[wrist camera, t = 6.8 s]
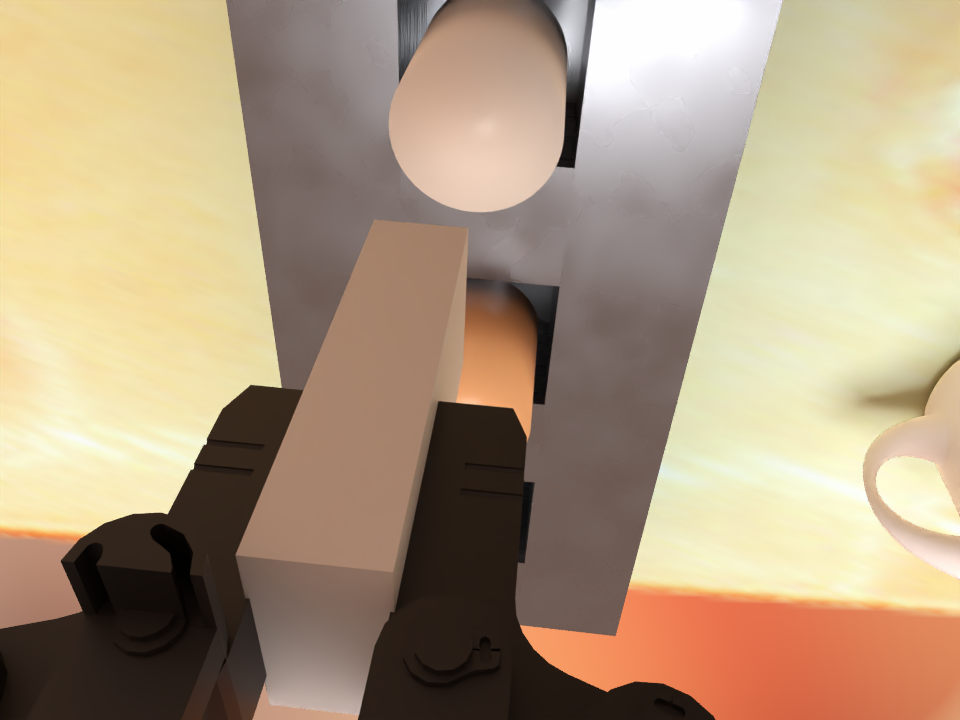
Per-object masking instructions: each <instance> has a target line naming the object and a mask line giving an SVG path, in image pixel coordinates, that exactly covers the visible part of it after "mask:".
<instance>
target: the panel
mask: <svg viewBox="0 0 960 720" xmlns="http://www.w3.org/2000/svg"><path fill="white" fill-rule="evenodd" d="M446 1H447V0H226V2H227V9H228V16H229V23H230V30H231V37H232V44H233V51H234V58H235V65H236V72H237V79H238V86H239V93H240V100H241V106H242V113H243V120H244V127H245V134H246V141H247V148H248V155H249V162H250V169H251V176H252V183H253V190H254V197H255V204H256V211H257V218H258V225H259V231H260V238H261V245H262V252H263V259H264V266H265V273H266V280H267V287H268V294H269V301H270V308H271V315H272V322H273V329H274V336H275V343H276V349H277V356H278V363H279V370H280V377H281V384H282V388H286V389H297V390H304V388H305V386H306V383H307V381H308V378H309V376H310V374H311V371H312V369H313V366H314V364H315V362H316V359H317V357H318V354H319V352H320V349H321V347H322V345H323V342H324V340H325V337H326V335H327V332H328V330H329V328H330V325H331V323H332V320H333V318H334V316H335V313H336V311H337V308H338V306H339V303H340V301H341V299H342V296H343V294H344V291H345V289H346V286H347V284H348V282H349V279H350V277H351V274H352V272H353V270H354V267H355V265H356V262H357V260H358V257H359V255H360V253H361V250H362V248H363V245H364V243H365V240H366V238H367V236H368V233H369V231H370V228H371V226H372V224H373V221H374V220H384V221H396V222H407V223H419V224H430V225H442V226H454V227H465V228H468V254H467V278H474V279H485V280H495V281H506V282H508V283H510V284H511V285H513V286H515V287H516V288H518V289H519V290H520V291H521V292H522V293H523V294H525V296H526V297H527V298H528V299H529V300H530V302H531V303H532V305H533V307H534V309H535V311H536V314H537V318H538V338H537V352H536V365H535V378H534V391H533V404H532V417H531V430H530V435H529V438H528V441H527V445H526V458H525V471H524V486H523V498H522V513H521V527H520V541H519V555H518V568H517V582H516V596H515V601H516V615H517V618H518V621H519V624H520V625H524V626H533V627H542V628H550V629H559V630H568V631H576V632H586V633H594V634H603V635H612V636H615V635H616V632H617V628H618V624H619V620H620V617H621V613H622V609H623V605H624V602H625V598H626V594H627V590H628V586H629V583H630V579H631V575H632V571H633V567H634V564H635V560H636V556H637V552H638V548H639V545H640V541H641V537H642V533H643V530H644V526H645V522H646V518H647V514H648V511H649V507H650V503H651V499H652V495H653V492H654V488H655V484H656V480H657V476H658V473H659V469H660V465H661V461H662V457H663V454H664V450H665V446H666V442H667V438H668V435H669V431H670V427H671V423H672V419H673V416H674V412H675V408H676V404H677V400H678V397H679V393H680V389H681V385H682V381H683V378H684V374H685V370H686V366H687V363H688V359H689V355H690V351H691V347H692V344H693V340H694V336H695V332H696V328H697V325H698V321H699V317H700V313H701V309H702V306H703V302H704V298H705V294H706V290H707V287H708V283H709V279H710V275H711V271H712V268H713V264H714V260H715V256H716V252H717V249H718V245H719V241H720V237H721V233H722V230H723V226H724V222H725V218H726V214H727V211H728V207H729V203H730V199H731V196H732V192H733V188H734V184H735V180H736V177H737V173H738V169H739V165H740V161H741V158H742V154H743V150H744V146H745V142H746V139H747V135H748V131H749V127H750V123H751V120H752V116H753V112H754V108H755V104H756V101H757V97H758V93H759V89H760V85H761V82H762V78H763V74H764V70H765V66H766V63H767V59H768V55H769V51H770V48H771V44H772V40H773V36H774V32H775V29H776V25H777V21H778V17H779V13H780V10H781V6H782V2H783V0H541V1H543V2H544V3H545V4H546V5H547V6H548V8H549V9H550V10H551V11H552V12H553V14H554V15H555V17H556V18H557V20H558V22H559V24H560V26H561V28H562V30H563V33H564V36H565V40H566V44H567V52H568V65H567V85H566V106H565V126H564V142H563V147H562V152H561V155H560V158H559V161H558V163H557V165H556V167H555V170H554V172H553V173H552V174H551V176H550V177H549V179H548V180H547V182H546V183H545V184H544V185H543V186H542V187H541V188H540V189H539V190H538V191H537V192H536V193H534V194H533V195H532V196H531V197H529V198H527V199H526V200H524V201H523V202H521V203H519V204H517V205H515V206H512V207H509V208H506V209H502V210H498V211H492V212H469V211H462V210H458V209H455V208H451V207H448V206H446V205H443V204H441V203H439V202H437V201H435V200H434V199H432V198H430V197H429V196H427V195H426V194H425V193H423V192H422V191H421V190H420V189H419V188H417V187H416V186H415V185H414V184H413V183H412V181H411V180H410V179H409V178H408V177H407V176H406V174H405V173H404V171H403V170H402V168H401V167H400V165H399V163H398V161H397V159H396V157H395V154H394V151H393V149H392V145H391V140H390V135H389V112H390V107H391V102H392V99H393V96H394V93H395V91H396V89H397V87H398V85H399V83H400V81H401V79H402V77H403V75H404V73H405V71H406V69H407V67H408V65H409V64H410V62H411V60H412V58H413V56H414V54H415V52H416V50H417V48H418V46H419V44H420V42H421V40H422V38H423V36H424V34H425V32H426V30H427V28H428V26H429V24H430V22H431V20H432V18H433V17H434V15H435V14H436V12H437V11H438V9H439V8H440V7H441V6H442V5H443V4H444V3H445V2H446Z"/></svg>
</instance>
